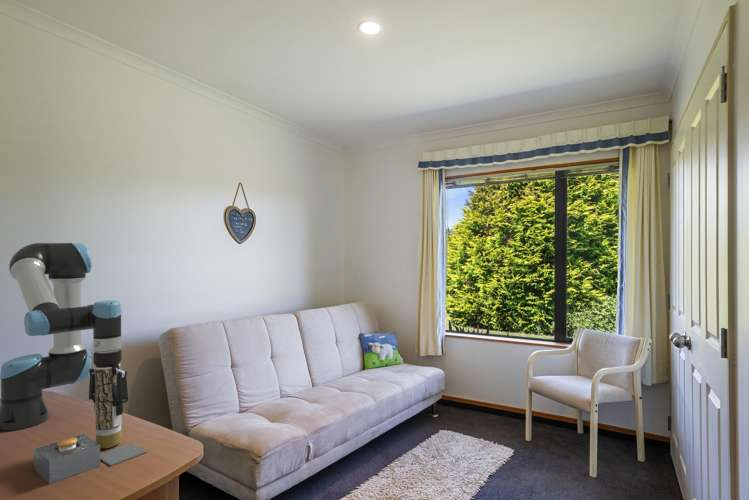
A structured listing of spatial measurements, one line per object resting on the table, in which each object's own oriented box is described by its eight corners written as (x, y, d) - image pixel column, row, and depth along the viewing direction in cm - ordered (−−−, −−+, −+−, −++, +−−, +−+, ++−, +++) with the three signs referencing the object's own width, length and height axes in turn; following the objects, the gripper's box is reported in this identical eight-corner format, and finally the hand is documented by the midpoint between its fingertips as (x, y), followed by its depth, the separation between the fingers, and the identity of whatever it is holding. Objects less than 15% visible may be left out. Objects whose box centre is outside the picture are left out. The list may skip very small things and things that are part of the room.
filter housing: (34, 470, 120) (34, 449, 120) (83, 454, 130) (83, 434, 130) (49, 484, 113) (49, 461, 113) (100, 465, 122) (100, 444, 122)
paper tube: (114, 448, 132) (113, 367, 132) (91, 450, 132) (90, 368, 132) (125, 439, 139) (124, 361, 139) (103, 440, 138) (102, 362, 138)
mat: (96, 456, 128) (96, 455, 128) (131, 444, 136) (131, 443, 136) (110, 466, 122) (110, 464, 122) (146, 452, 130) (146, 451, 130)
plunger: (55, 465, 121) (54, 441, 121) (74, 459, 124) (73, 435, 124) (61, 470, 118) (60, 445, 118) (80, 463, 122) (80, 439, 122)
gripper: (73, 350, 135) (74, 424, 135) (119, 355, 128) (120, 432, 128) (96, 345, 142) (97, 415, 142) (141, 350, 135) (142, 423, 135)
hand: (108, 423), depth 135 cm, fingers closed on paper tube, 7 cm apart
